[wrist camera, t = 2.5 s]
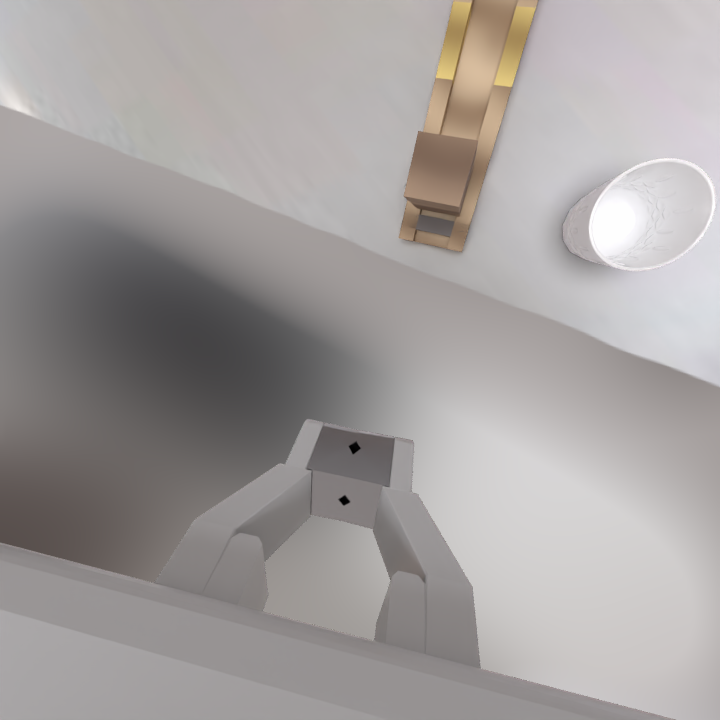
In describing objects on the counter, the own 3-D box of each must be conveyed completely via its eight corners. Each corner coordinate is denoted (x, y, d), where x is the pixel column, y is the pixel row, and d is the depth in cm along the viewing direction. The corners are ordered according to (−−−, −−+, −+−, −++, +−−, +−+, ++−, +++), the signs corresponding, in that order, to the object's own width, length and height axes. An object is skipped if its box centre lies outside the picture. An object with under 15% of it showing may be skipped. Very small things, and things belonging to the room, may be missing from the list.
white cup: (577, 174, 33) (622, 147, 24) (662, 193, 32) (744, 171, 23) (542, 254, 36) (570, 256, 27) (618, 274, 35) (675, 283, 26)
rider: (459, 218, 35) (459, 206, 26) (418, 209, 36) (403, 196, 26) (473, 171, 34) (478, 140, 24) (429, 163, 34) (418, 131, 25)
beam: (461, 251, 38) (461, 251, 35) (403, 238, 40) (398, 238, 36) (545, -25, 29) (555, -58, 26) (467, -29, 31) (467, -62, 28)
